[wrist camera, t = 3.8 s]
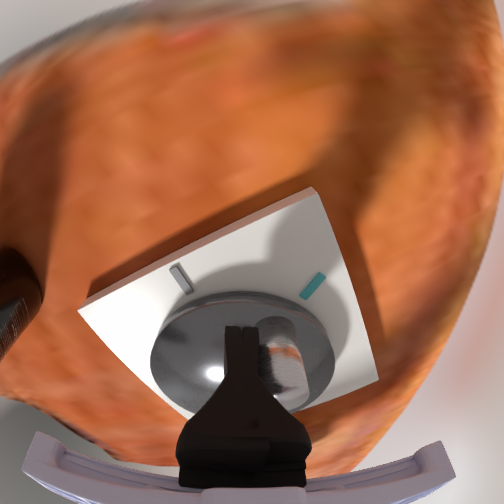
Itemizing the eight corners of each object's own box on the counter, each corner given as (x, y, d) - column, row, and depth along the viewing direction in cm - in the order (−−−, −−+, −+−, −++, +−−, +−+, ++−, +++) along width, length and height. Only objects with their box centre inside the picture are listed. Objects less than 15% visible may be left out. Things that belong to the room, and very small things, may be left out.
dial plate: (373, 367, 21) (379, 381, 20) (206, 421, 24) (205, 434, 23) (310, 186, 15) (318, 193, 13) (86, 298, 17) (76, 312, 16)
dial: (280, 419, 21) (286, 475, 16) (143, 384, 19) (126, 445, 14) (364, 323, 17) (397, 392, 11) (180, 260, 14) (149, 334, 9)
